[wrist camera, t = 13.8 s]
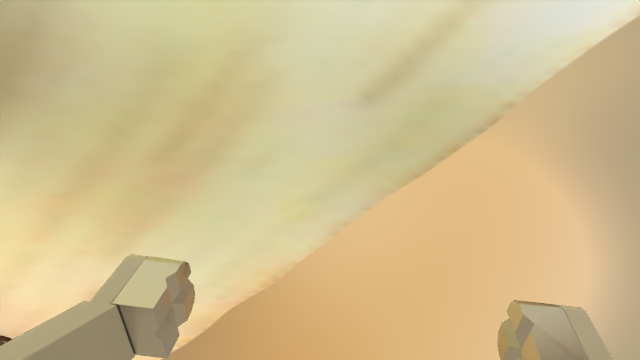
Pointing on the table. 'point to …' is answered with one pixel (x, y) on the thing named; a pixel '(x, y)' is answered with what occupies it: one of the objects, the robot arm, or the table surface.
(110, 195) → the table surface
